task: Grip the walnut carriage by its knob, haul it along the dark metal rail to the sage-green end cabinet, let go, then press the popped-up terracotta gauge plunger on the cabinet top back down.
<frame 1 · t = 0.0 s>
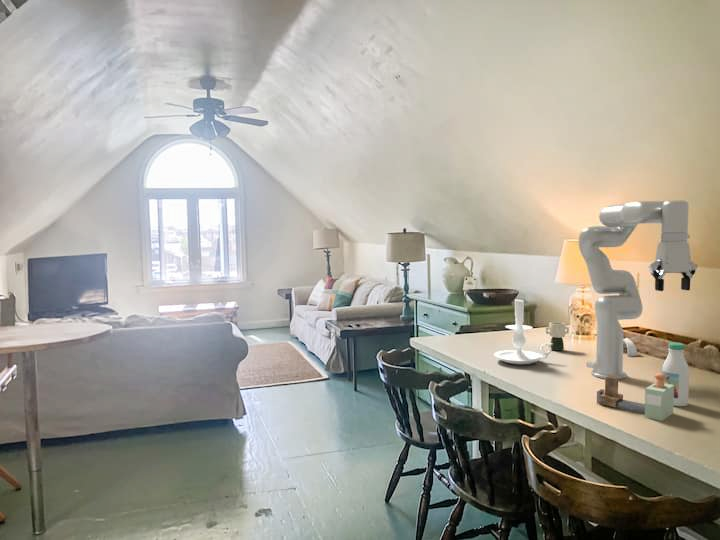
hand: (672, 290, 182), 37 cm above the table, tool pointing down, fingers open, 9 cm apart
gauge plunger: (659, 385, 170), point 9 cm above the table, slide at 0.0 cm
candlestick: (523, 363, 239), on the table
milk bottle: (674, 404, 182), on the table
rail: (625, 407, 178), on the table
carriage: (611, 390, 180), point 5 cm above the table, slide at 0.0 cm
character mug: (556, 350, 262), on the table
white arch: (618, 351, 260), on the table
cabinet: (659, 415, 170), on the table
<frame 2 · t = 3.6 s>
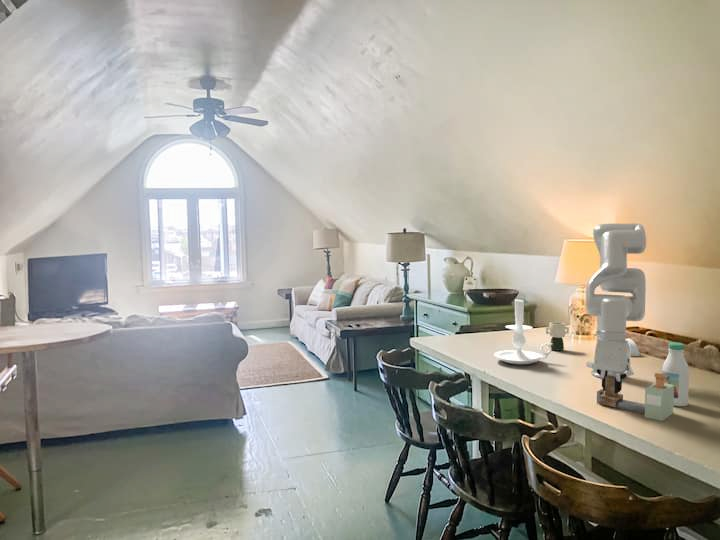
hand: (611, 390, 180), 5 cm above the table, tool pointing down, fingers closed on carriage, 3 cm apart
carriage: (611, 390, 180), point 5 cm above the table, slide at 0.0 cm, touching gripper
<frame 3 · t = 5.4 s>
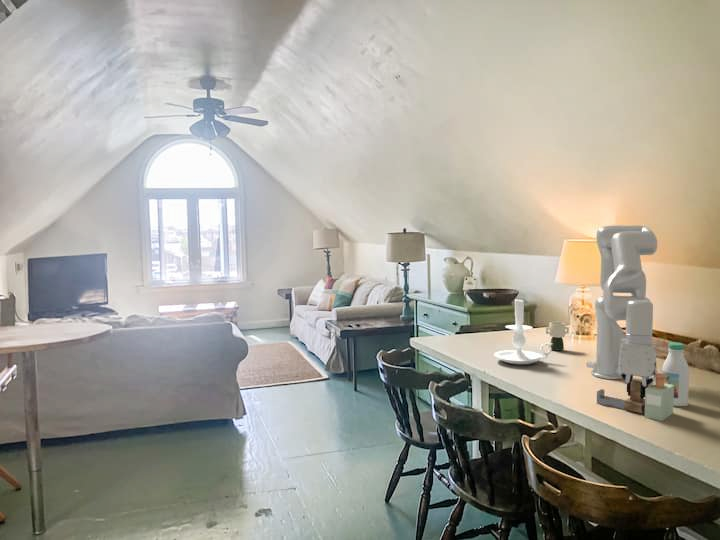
hand: (636, 395, 175), 5 cm above the table, tool pointing down, fingers closed on carriage, 3 cm apart
carriage: (636, 395, 175), point 5 cm above the table, slide at 7.9 cm, touching gripper
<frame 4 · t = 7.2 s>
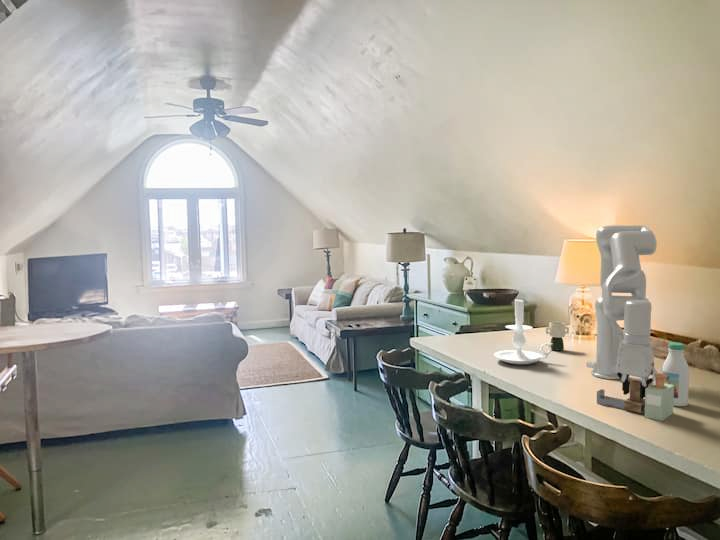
hand: (634, 395, 175), 5 cm above the table, tool pointing down, fingers open, 4 cm apart
carriage: (636, 395, 175), point 5 cm above the table, slide at 7.8 cm, touching gripper
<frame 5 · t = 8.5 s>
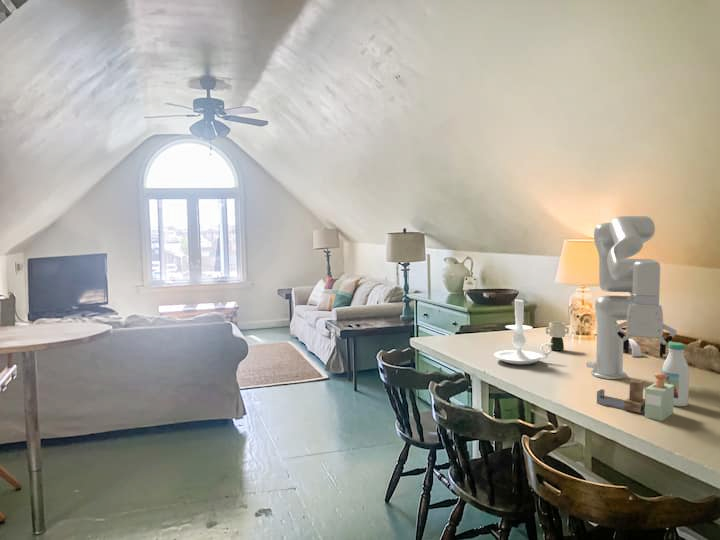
hand: (643, 354, 173), 18 cm above the table, tool pointing down, fingers open, 9 cm apart
carriage: (636, 395, 175), point 5 cm above the table, slide at 7.7 cm
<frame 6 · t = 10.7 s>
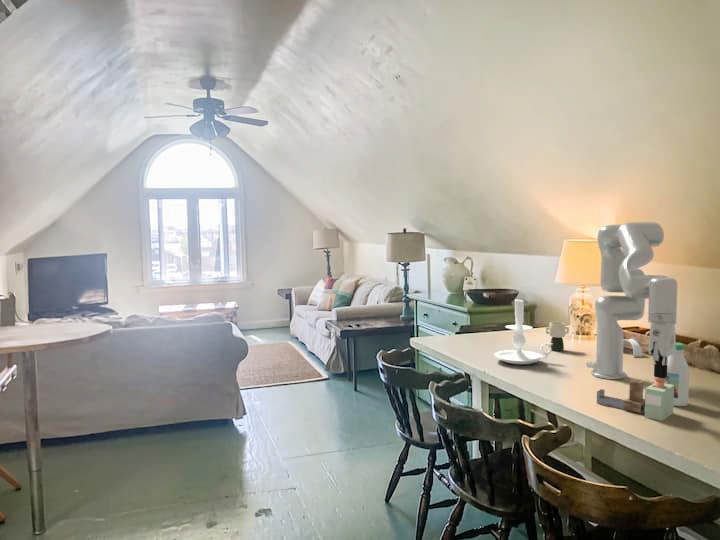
hand: (660, 377, 169), 12 cm above the table, tool pointing down, fingers closed
gauge plunger: (659, 387, 170), point 9 cm above the table, slide at 0.8 cm, touching gripper
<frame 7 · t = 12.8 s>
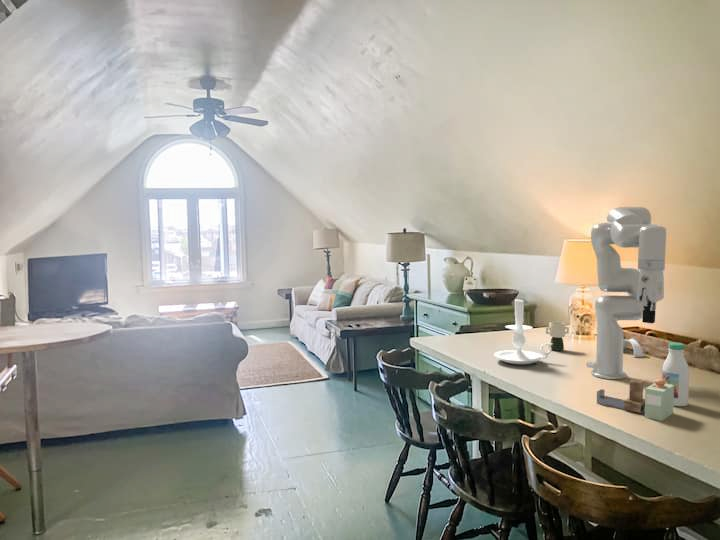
hand: (648, 322, 175), 28 cm above the table, tool pointing down, fingers closed
gauge plunger: (659, 391, 170), point 8 cm above the table, slide at 1.8 cm
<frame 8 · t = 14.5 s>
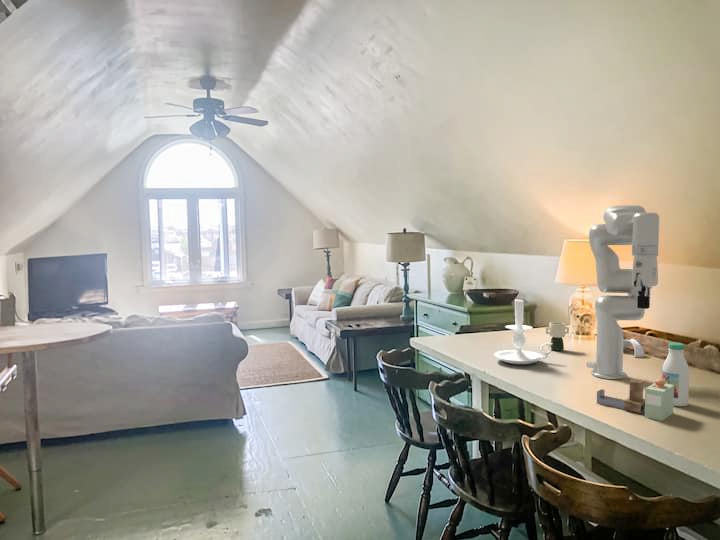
hand: (643, 308, 178), 32 cm above the table, tool pointing down, fingers closed
at the end: carriage slide at 7.7 cm; gauge plunger slide at 1.8 cm; the gripper is holding nothing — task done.
